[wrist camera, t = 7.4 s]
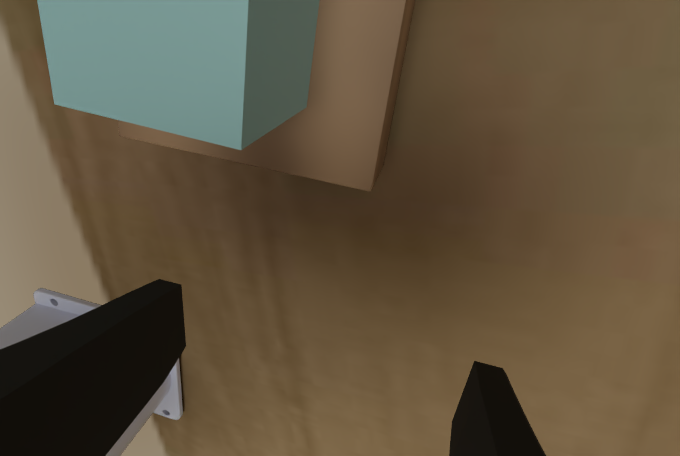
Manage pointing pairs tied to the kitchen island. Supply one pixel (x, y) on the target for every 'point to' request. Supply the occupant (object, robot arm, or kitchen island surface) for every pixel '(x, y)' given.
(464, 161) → the kitchen island surface
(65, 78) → the teal cube
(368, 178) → the walnut block
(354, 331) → the kitchen island surface
